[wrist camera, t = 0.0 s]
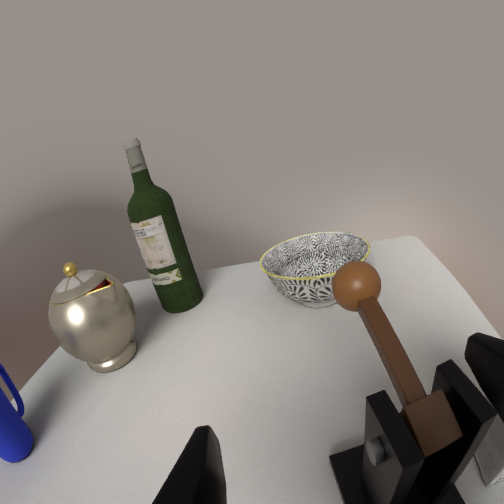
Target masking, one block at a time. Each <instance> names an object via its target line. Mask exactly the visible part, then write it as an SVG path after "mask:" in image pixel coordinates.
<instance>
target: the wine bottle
mask: <svg viewBox="0 0 504 504" xmlns="http://www.w3.org/2000/svg"><path fill="white" fill-rule="evenodd" d="M140 146H141V144H140V141H139V140H138V138H136V139H132V140H129V141H127V142H125V143H124V148H125V151H126V154H127V158H128V162H129V167H130V171H131V175H132V178H133V183H134V193H133V195H132V197H131V199H130V202H129V204H128V209H127V212H128V216H129V219H130V222H131V225H132V228H133V231H134V233H135V237H136V239H137V242H138V245H139V248H140V251H141V253H142V256H143V258H144V261H145V264H146V267H147V269H148V272H149V275H150V277H151V280H152V282H153V285H154V287H155V290H156V292H157V295H158V297H159V300H160V302H161V305H162V307H163V309H164V310H165V311H166V312H169V313H180V312H184V311H187V310H189V309H191V308H193V307H195V306H196V305H197V304H199V303H200V301H201V300H202V297H203V293H202V290H201V287H200V284H199V281H198V278H197V276H196V273H195V270H194V267H193V264H192V261H191V258H190V255H189V252H188V249H187V246H186V242H185V239H184V236H183V233H182V230H181V227H180V223H179V220H178V217H177V214H176V210H175V207H174V204H173V201H172V198H171V196H170V195H169V194H168V193H167V191H165V190H163V189H162V188H160V187H158V186H155V185H154V184H153V182H152V181H151V178H150V175H149V172H148V169H147V166H146V163H145V159H144V156H143V153H142V150H141V147H140Z"/></svg>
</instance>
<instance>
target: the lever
mask: <svg viewBox="0 0 504 504" xmlns="http://www.w3.org/2000/svg"><path fill="white" fill-rule="evenodd" d="M380 291H381V280H380V277H379V274H378V272H377V271H376V270H375V268H374V267H373V266H371V265H370V264H368V263H366V262H363V261H351V262H348V263H346V264H344V265H342V266H341V267H340V268H339V269H338V270H337V272H336V273H335V275H334V277H333V280H332V293H333V296H334V298H335V300H336V302H337V303H338V304H339V305H340V306H341V307H343V308H344V309H346V310H349V311H355V312H356V311H358V312H359V314H360V316H361V318H362V320H363V322H364V324H365V326H366V328H367V330H368V333H369V335H370V337H371V339H372V341H373V343H374V345H375V347H376V349H377V351H378V353H379V355H380V357H381V360H382V362H383V364H384V366H385V368H386V370H387V372H388V375H389V377H390V379H391V381H392V383H393V386H394V388H395V390H396V392H397V395H398V397H399V399H400V402H401V404H402V406H403V409H402V410H401V411H400V413H399V414H400V416H401V418H402V419H403V421H404V423H405V424H406V426H407V428H408V430H409V431H410V433H411V435H412V436H413V438H414V440H415V442H416V443H417V445H418V447H419V449H420V450H421V452H422V454H423V456H424V457H425V458H426V457H428V456H430V455H431V454H433V453H435V452H437V451H439V450H441V449H442V448H444V447H446V446H448V445H449V444H451V443H452V442H454V441H456V440H457V439H459V438H460V437H462V436H463V433H462V431H461V429H460V426H459V424H458V422H457V420H456V417H455V415H454V413H453V411H452V409H451V407H450V405H449V402H448V400H447V398H446V396H445V394H444V392H443V390H442V389H439V390H437V391H435V392H433V393H431V394H429V395H426V393H425V390H424V388H423V386H422V384H421V382H420V380H419V378H418V376H417V374H416V372H415V370H414V368H413V366H412V364H411V362H410V360H409V358H408V356H407V354H406V352H405V350H404V348H403V347H402V345H401V343H400V341H399V339H398V337H397V335H396V333H395V332H394V330H393V328H392V326H391V324H390V322H389V321H388V319H387V317H386V315H385V313H384V312H383V310H382V308H381V306H380V305H379V303H378V301H377V299H378V297H379V295H380Z"/></svg>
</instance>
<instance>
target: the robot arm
mask: <svg viewBox="0 0 504 504" xmlns="http://www.w3.org/2000/svg"><path fill="white" fill-rule="evenodd" d="M465 359H466V361H467V363H468V365H469V367H470V368H471V370H472V372H473V374H474V376H475V378H476V379H477V381H478V383H479V385H480V387H481V389H482V390H483V392H484V394H485V395H486V397H487V398H488V400H489V401H490V403H491V404H492V406H493V407H494V409H495V410H496V412H497V413H498V415H499V417H500V418H501V420H502V421H503V423H504V340H502V339H498V338H495V337H492V336H489V335H485V334H482V333H475V334H473V335H471V336H470V337H469V338H468V340H467V345H466V350H465ZM152 504H227V497H226V481H225V475H224V469H223V462H222V456H221V449H220V443H219V440H218V438H217V436H216V435H215V433H214V431H213V430H212V428H211V427H210V426H209V425H206V426H199V427H197V428H196V429H195V430H194V432H193V434H192V436H191V437H190V439H189V441H188V443H187V445H186V446H185V448H184V450H183V452H182V453H181V455H180V457H179V459H178V460H177V462H176V464H175V465H174V467H173V469H172V471H171V472H170V474H169V476H168V478H167V479H166V481H165V483H164V484H163V486H162V488H161V489H160V491H159V493H158V494H157V496H156V498H155V499H154V501H153V503H152Z"/></svg>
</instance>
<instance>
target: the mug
mask: <svg viewBox="0 0 504 504" xmlns="http://www.w3.org/2000/svg"><path fill="white" fill-rule="evenodd" d="M0 375H1V377H2V378H3V380H4V381H5V383H6V385H7V386H8V388H9V389H10V391H11V393H12V395H13V397H14V399H15V401H16V403H17V407H18V412H17V411H16V410H15V409H14V407H13V406H12V404H11V403H10V401H9V400H8V398H7V397H6V395H5V394H4V392H3V391H2V389H1V388H0V457H1V458H2V459H4V460H5V461H8V462H12V463H14V462H19V461H21V460H22V459H24V458H25V457H26V456H27V455H28V454H29V452H30V451H31V449H32V445H33V436H32V433H31V431H30V429H29V428H28V426H27V425H26V424H25V422H24V421H23V420H22V418H21V417H22V416H23V414H24V404H23V401H22V399H21V396H20V394H19V393H18V391H17V389H16V387H15V385H14V384H13V382H12V380H11V379H10V377H9V375H8V374H7V372H6V371H5V369H4V367H3V366H2V365H1V364H0Z"/></svg>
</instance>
